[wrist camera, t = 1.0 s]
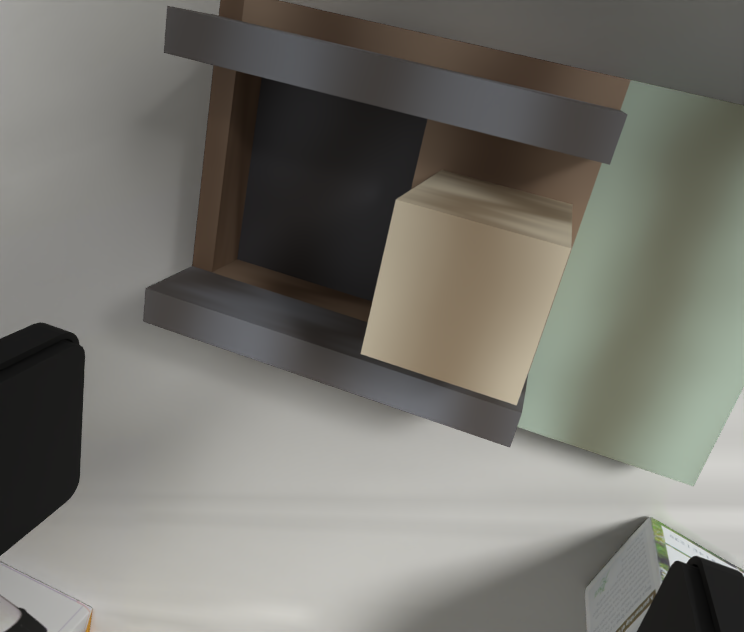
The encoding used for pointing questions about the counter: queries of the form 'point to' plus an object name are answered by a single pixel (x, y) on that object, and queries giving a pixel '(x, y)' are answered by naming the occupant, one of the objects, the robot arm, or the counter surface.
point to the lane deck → (487, 163)
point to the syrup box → (638, 577)
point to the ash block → (468, 282)
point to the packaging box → (38, 606)
